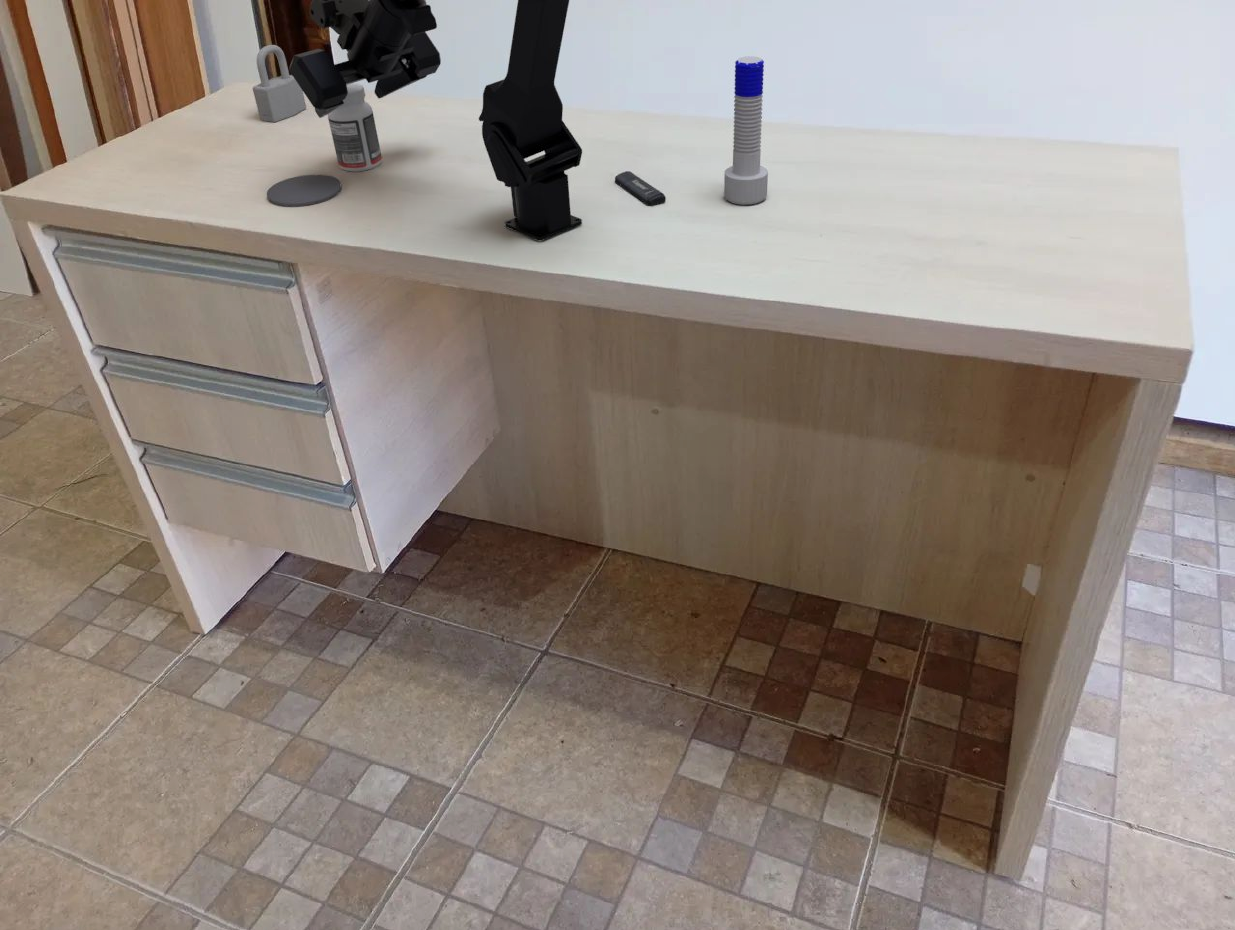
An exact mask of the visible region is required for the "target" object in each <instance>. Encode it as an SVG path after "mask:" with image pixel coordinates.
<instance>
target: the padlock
mask: <svg viewBox="0 0 1235 930" xmlns="http://www.w3.org/2000/svg"><path fill="white" fill-rule="evenodd" d="M270 54H275V56H276V58H277V61H278V66H279V71H280V74H281V75H279V76H276V77H271V79H269V76H268V72H267V68H266V57H267V56H268V55H270ZM256 65H257V66H256V67H257V71H258V75H259V79H260V83H258V84H257V85H253V86H252V92H253V96H254V100H255V104H256V109H257V112H258V116H259V121H263V122H264V121H265V122H271V123H277V122H278V121H281V120H282V121H283V120H284V119H285V120H286V119H288V118H290V117H293V116H295V115H297V114H299V113H300V112H302V111H305V110H306V109H307V104H306V99H305V94H304V92H303V90H302V89H301V87H300V86H299V84H298V83H297V82H296V80H295V79H294V77H293V76H292V74H290V71H289V68H288V63H287V59H286V56H285V53H284V51H283V50H282V48H281V47H280V46H278V45H276V44H269V45H268V44H267V45H266V46H263V47H262V48H261V49H260V50H259V51H258V53H257V54H256Z"/></svg>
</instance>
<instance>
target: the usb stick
mask: <svg viewBox="0 0 1235 930" xmlns="http://www.w3.org/2000/svg"><path fill="white" fill-rule="evenodd" d="M614 183H615V184H617V185H618V186H620V187H621V188H623V189H624V190H625V191H627V192H628V193H629V194H631V195H633V197H635V198H637V199H638V200H640V201H641V202H642V203H643V204H645V205H647V206H648V207H650V206H651V207H655V206H659V205H664V204H665V203H666V199H667V198H666V196H665V194H664V193H663V192H662V191H660V190H659V189H657V188H655V187H654V186H652V185H651V184H650V183H648V182H647V181H645V180H643V179H642V178H641V177H639V176H638V175H636V174H634V173H633V172H632V171H629V170H627V171H622V172H621V173H618V174H617V175H616V176H615V177H614Z"/></svg>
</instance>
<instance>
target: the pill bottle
mask: <svg viewBox="0 0 1235 930" xmlns="http://www.w3.org/2000/svg"><path fill="white" fill-rule="evenodd" d="M346 86H347V91H348V94H347V96H346V98H345V99H344V100H343V102H344V104H342V105H341V106H339V107H338V108H336V109H335V110H333V111H332V112H330V113H329V114H327V119H328V123H329V124H328V125H329V129H330V134H331V137H332V141H333V146H334V151H335V154H336V155H335V156H336V160H337V164H338V167H340V169H341V170H343V171H346V172H353V173H355V172H363V171H365V172H366V171H369V170H372V169H374V168H377V167H378V166H379V165H381V164H382V160H383V159H382V158H383V157H382V152H381V147H380V142H379V137H378V136H379V135H378V131H377V125H376V122H375V117H374V115H375V114H374V111H373V108H372V106H371V105H370V103H368V102H367V101H366V100H365V97H366V93H365V88H364V85H363V84H360V83H358V82H357V83H356V82H354V83H351V84H348V85H346Z"/></svg>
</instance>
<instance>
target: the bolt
mask: <svg viewBox="0 0 1235 930" xmlns="http://www.w3.org/2000/svg"><path fill="white" fill-rule="evenodd" d="M734 62H735V63H734V64H735V66H734V68H735V69H734V101H733V102H734V104H733V107H734V109H733V111H734V113H733V115H734V116H733V137H732V138H733V141H732V142H733V146H732V147H733V149H732V165H731V166H729V167H726V169H725V170H724V177H723V179H724V185H723V187H724V189H723V191H724V192H723V195H724V198H725V199H726V201H728V202H730V203H732V204H735V205H741V206H742V205H744V206H749V205H750V206H751V205H757V204H759V203H761V202H764V200H765V199H766V198H767V196H768V185H769V184H768V182H769V181H768V178H769V170H768V169H767V168H766V167H764V166H762V165H761V156H762V155H761V152H762V150H761V147H762V145H761V144H762V141H761V140H762V122H763V121H762V119H763V116H762V115H763V112H762V111H763V101H764V100H763V93H764V90H763V89H764V69H765V68H764V66H765V64H764V63H765V61H764V60H763V58H761V57H758V56H743V57H739V58H738V59H736V61H734Z"/></svg>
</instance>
